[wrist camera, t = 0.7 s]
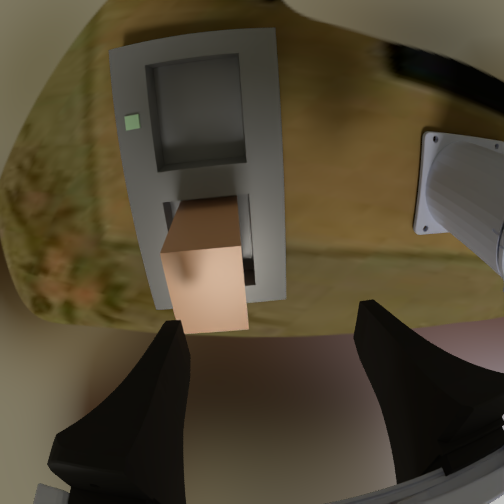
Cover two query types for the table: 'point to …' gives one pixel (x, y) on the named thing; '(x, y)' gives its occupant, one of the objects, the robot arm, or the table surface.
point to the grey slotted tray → (204, 144)
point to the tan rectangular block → (206, 266)
